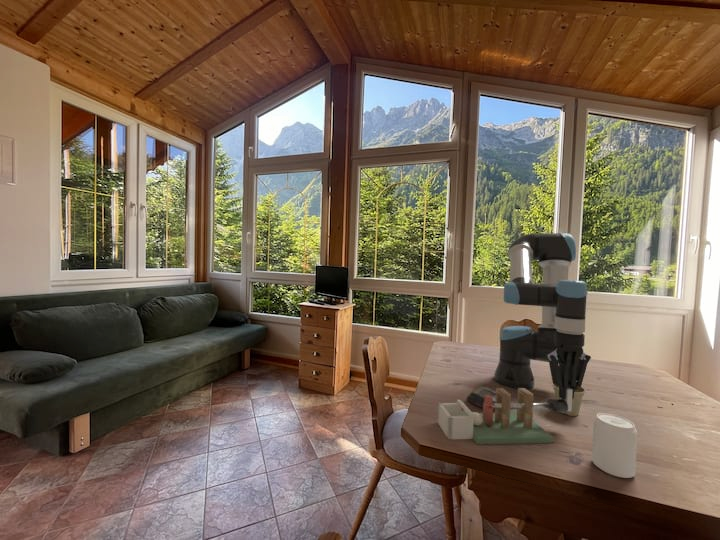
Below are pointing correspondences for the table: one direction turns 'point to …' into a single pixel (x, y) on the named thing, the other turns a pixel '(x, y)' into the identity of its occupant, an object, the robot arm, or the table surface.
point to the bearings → (522, 414)
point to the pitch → (509, 432)
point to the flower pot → (575, 402)
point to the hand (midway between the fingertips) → (565, 409)
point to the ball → (477, 419)
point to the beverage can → (614, 445)
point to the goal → (455, 420)
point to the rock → (481, 396)
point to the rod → (521, 407)
